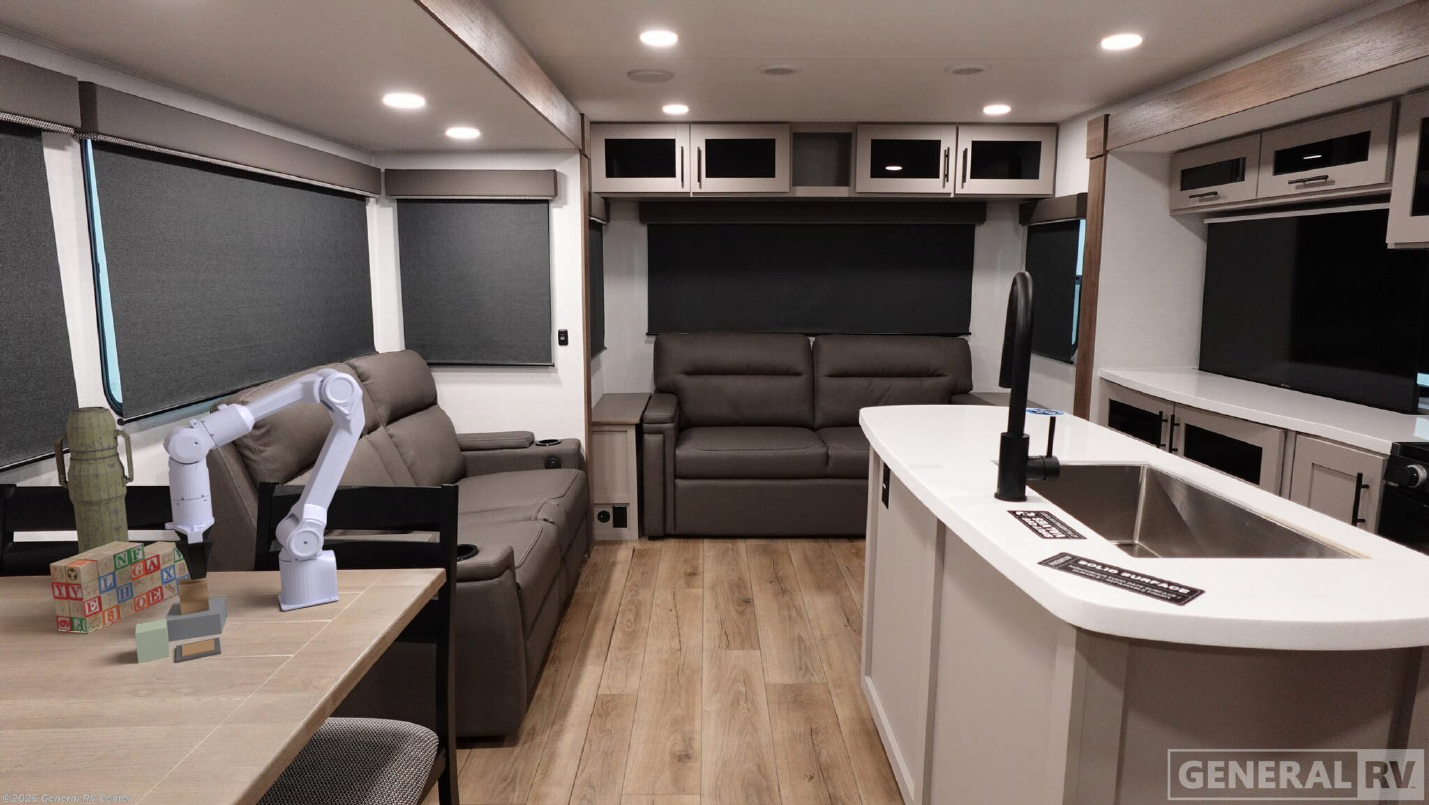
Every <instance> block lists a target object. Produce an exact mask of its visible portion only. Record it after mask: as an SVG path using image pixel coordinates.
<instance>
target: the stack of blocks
mask: <svg viewBox="0 0 1429 805" xmlns="http://www.w3.org/2000/svg"><path fill="white" fill-rule="evenodd" d="M49 568H50V570H49V571H50V576H51V583H50V584H51V590H52V597H53V602H54V609H55V619H56V620H55V621H56V627H57V630H58V629H60V630H66V631H80V632H81V631H83V632H86V633H88V632H89V631H92V630H93V629H95V628H99V627H100V626H104V625H107V624H109V623H111V622H114V623H116V622H115V621H117V620H119V619H121V620H123V619H125V618H124V617H126V618H128V617H130V616H132V615H134V613H135V612H136V613H139V612H141V611H143V610H144V608H145V609H147V608H149V607H151V606H153V604H154V605H155V603H156V604H158V603H160V602H162V601H164V600H167V599H168V598H171V597H173V596H177V595H179V585H178V580H179V579H185V578H190V575H189V572H188V569H187V566H186V563H185V560H184V558H183V556H182V554H181V553H180V552H179V550H178V549H177V548H176V546H175V541H174V542H173V541H172V542H169V541H156V542H154V543H152V544H149V545H146V546H144V543H143V542H141V543H140V542H132V541H131V542H130V541H129V542H117V541H115V542H112V543H109V544H106V545H103V546H101V547H97V548H94V549H92V550H89V551H86V552H84V553H81V554H79V553H78V554H75V555H73V556H69V557H68V558H64V559H61V560H58V561H55V562H52V563H50V564H49ZM150 605H151V606H150ZM142 609H143V610H142ZM136 613H135V614H136ZM129 615H130V616H129ZM127 616H128V617H127ZM122 618H123V619H122ZM119 621H120V620H119ZM117 622H118V621H117Z"/></svg>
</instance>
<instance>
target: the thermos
mask: <svg viewBox="0 0 1429 805" xmlns="http://www.w3.org/2000/svg"><path fill="white" fill-rule="evenodd" d="M65 430H66V433H63V434H61V435H58V436H57V438H56V439H55V440H54V442H53V443H52V445H53V449H54V452H53V453H54V458H55V462H56V463H55V464H56V470H57V476H58V477H57V478H58V485H60V486H61V487H62V488H64V489H67V491H68V494H69V500H70V501H71V502H72V505H73V508H74V509H73V510H74V517H75V527H76V536H77V545H78V554H81V553H84V552H86V551H89V550H92V549H94V548H97V547H101V546H103V545H106V544H109V543H112V542H115V541H117V542H130V540H129V531H128V521H127V520H128V519H127V510H126V501H125V500H126V498H125V497H126V495H127V491H128V490H127V485H128V483H133V482H134V478H135V477H134V475H135V474H134V462H133V453H132V452H133V451H132V440H131V435H130V434H129V433H127V431H126V430H124V429H123V430H122V429H121V430H120V429H118V428H117V422H116V419H115V417H114V415H113V413H112V412H111V409H109V408H106V407H105V406H84V407H83V406H82V407H77V408H74V410H71V411H70V412H69V414H68V417H67V420H66V424H65ZM119 436H121V437H123V439H124V444H125V455H126V463H127V475H126V473H125V472H126V470H125V466H124V464H123V462H122V460H121V458H120V453H119V452H118V446H119V442H118V441H119V440H118V437H119ZM65 439H66V440H67V447H68V451H69V454H70V457H69V466H68V468H67V469H68V470H66V463H65V455H64V454H65V453H64V446H63V441H64V440H65Z"/></svg>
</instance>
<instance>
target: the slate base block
mask: <svg viewBox="0 0 1429 805" xmlns="http://www.w3.org/2000/svg"><path fill="white" fill-rule="evenodd" d="M208 601H209V610H207V611H201V612H196V613H191V614H185V615H181V607H180V602H177V603H172V604H171V606H170V609H169V610H168V612H167V614H166V616H165V618H164V619H166V620H167V630H168V640H169V642H177V641H183V640H189V639H197V638H203V637H211V636H216V635H222V633H223V631H224V629H225V628H224V627H225V624H226V622H227V618H228V607H227V597H226V596H221V597H215V598H208Z"/></svg>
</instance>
